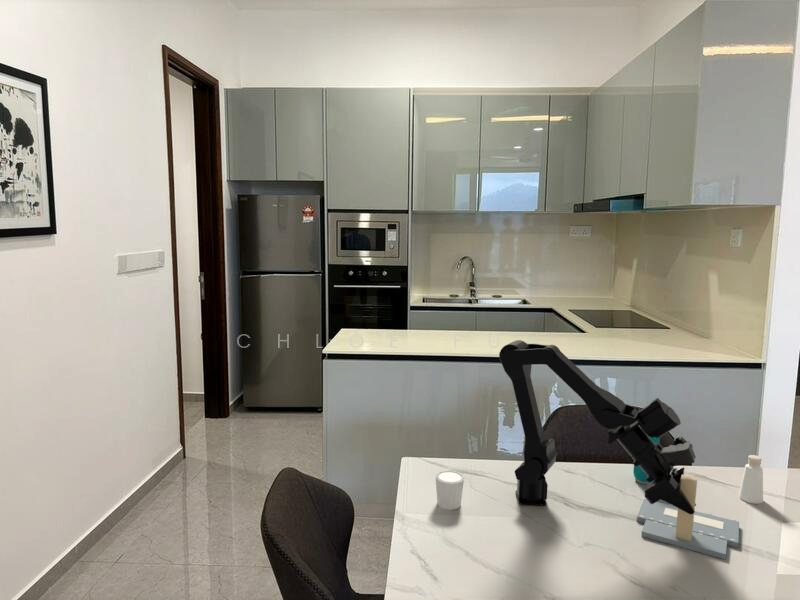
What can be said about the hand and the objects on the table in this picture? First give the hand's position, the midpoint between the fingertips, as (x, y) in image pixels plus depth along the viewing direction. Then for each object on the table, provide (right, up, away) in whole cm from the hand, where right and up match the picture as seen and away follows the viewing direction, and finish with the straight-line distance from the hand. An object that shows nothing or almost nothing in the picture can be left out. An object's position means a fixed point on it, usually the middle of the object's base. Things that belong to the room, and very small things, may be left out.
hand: (693, 509), depth 122 cm
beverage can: (+3, -4, +30) cm, 31 cm away
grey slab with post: (-1, -7, +2) cm, 8 cm away
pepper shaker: (+25, -5, +21) cm, 33 cm away
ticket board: (+3, -6, +9) cm, 11 cm away
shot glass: (-50, -5, +17) cm, 53 cm away
